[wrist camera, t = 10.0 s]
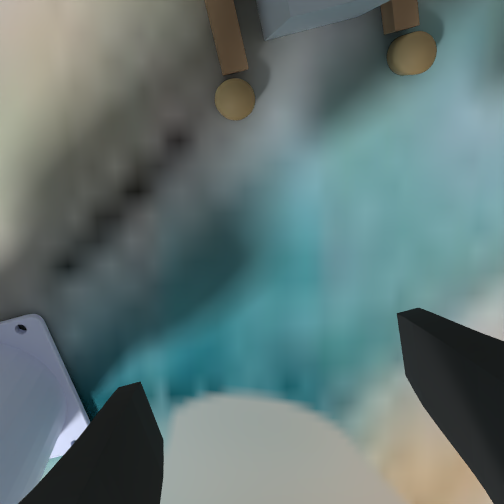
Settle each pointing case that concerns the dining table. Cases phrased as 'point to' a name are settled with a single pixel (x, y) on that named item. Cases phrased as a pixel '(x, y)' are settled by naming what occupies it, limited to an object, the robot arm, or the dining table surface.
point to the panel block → (307, 14)
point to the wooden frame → (234, 60)
